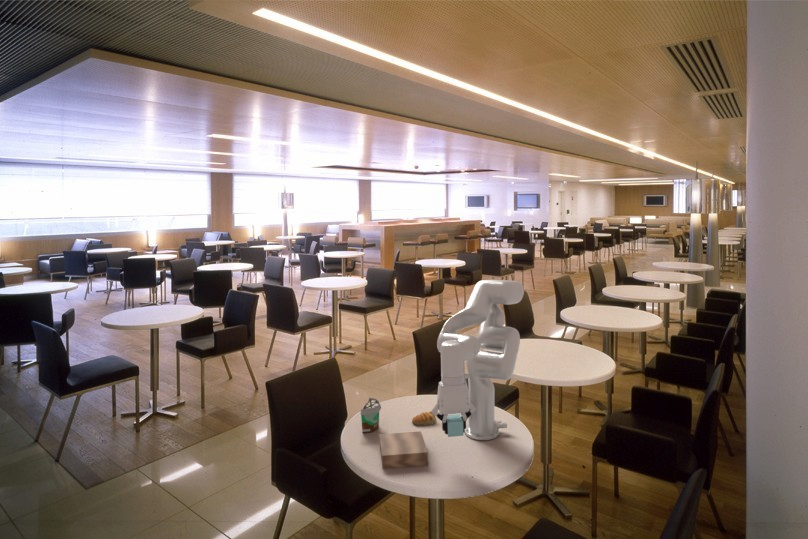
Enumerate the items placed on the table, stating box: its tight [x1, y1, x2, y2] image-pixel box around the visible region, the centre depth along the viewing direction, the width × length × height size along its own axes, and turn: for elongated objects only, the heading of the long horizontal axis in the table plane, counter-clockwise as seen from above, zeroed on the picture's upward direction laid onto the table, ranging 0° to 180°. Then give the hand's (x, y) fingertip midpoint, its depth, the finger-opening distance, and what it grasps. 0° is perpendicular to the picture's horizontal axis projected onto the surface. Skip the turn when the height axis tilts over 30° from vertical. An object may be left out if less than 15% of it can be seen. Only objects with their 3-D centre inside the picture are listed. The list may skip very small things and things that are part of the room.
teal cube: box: [446, 413, 464, 438], centre depth 157 cm, size 5×5×5 cm
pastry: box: [411, 410, 437, 426], centre depth 189 cm, size 9×7×4 cm
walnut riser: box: [378, 430, 429, 470], centre depth 164 cm, size 15×15×4 cm
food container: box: [360, 397, 382, 434], centre depth 184 cm, size 12×6×10 cm, turn 168°
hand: (454, 431), depth 157 cm, fingers closed on teal cube, 4 cm apart
